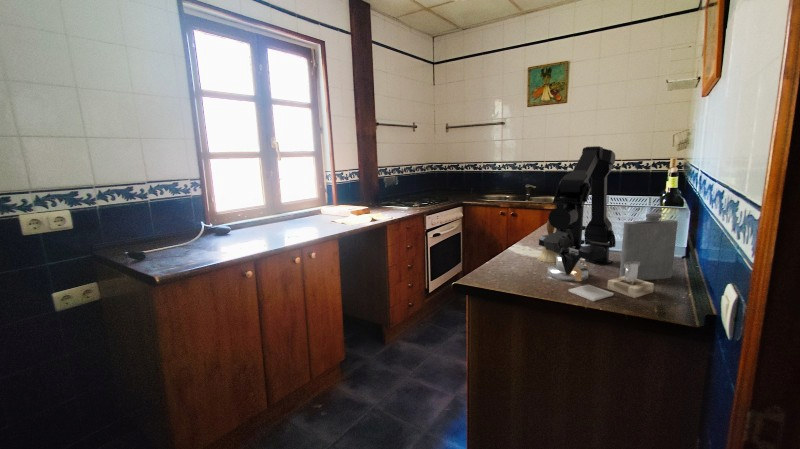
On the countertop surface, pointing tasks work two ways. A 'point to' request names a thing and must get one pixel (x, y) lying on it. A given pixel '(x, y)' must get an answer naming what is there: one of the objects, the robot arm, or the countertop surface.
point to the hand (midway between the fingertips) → (568, 274)
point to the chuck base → (562, 275)
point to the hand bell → (548, 254)
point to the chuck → (575, 272)
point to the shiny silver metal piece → (631, 272)
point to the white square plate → (590, 292)
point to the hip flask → (649, 247)
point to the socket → (630, 287)
